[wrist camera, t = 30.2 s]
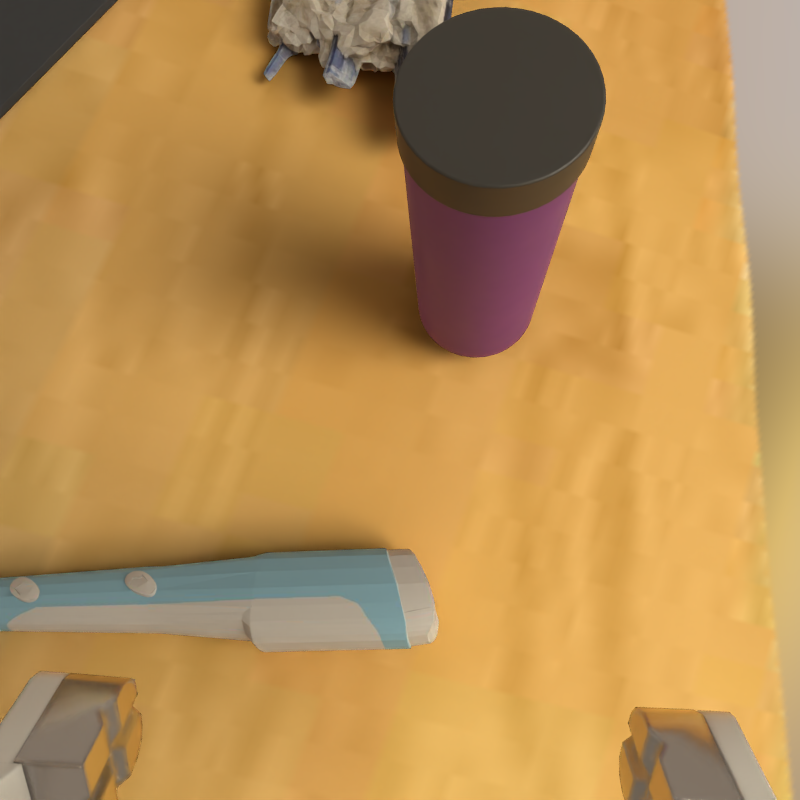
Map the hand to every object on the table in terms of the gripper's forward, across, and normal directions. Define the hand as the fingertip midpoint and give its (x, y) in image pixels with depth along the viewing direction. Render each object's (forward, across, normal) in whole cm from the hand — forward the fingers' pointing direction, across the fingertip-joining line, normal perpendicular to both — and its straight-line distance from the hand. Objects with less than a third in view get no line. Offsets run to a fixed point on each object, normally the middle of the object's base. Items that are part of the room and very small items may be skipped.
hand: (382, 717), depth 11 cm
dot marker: (+17, -3, -2) cm, 17 cm away
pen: (+10, +8, +8) cm, 15 cm away
